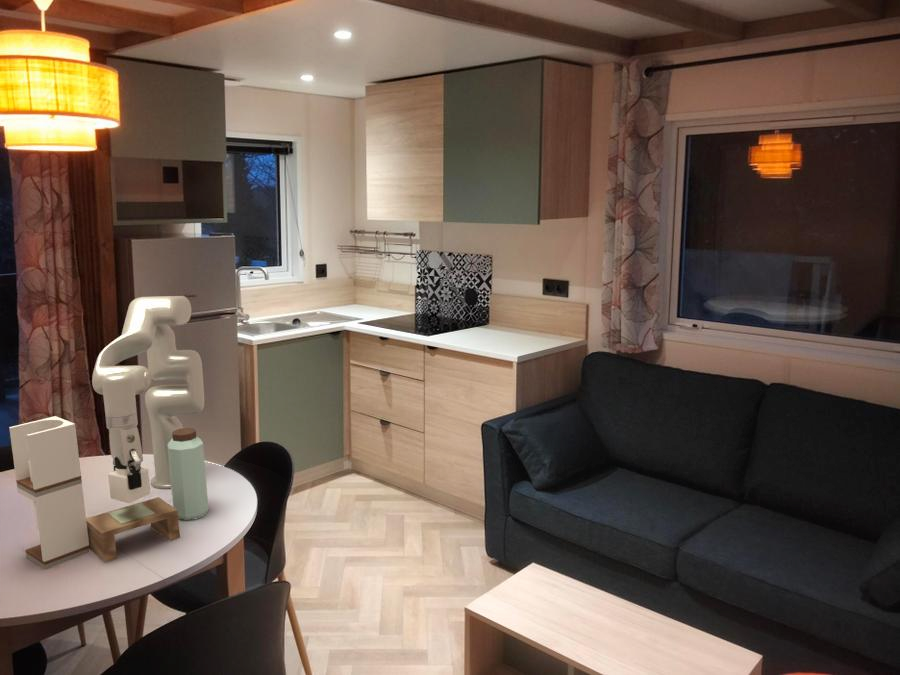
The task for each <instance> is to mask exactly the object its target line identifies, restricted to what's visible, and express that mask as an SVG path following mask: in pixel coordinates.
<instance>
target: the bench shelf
mask: <svg viewBox="0 0 900 675" xmlns="http://www.w3.org/2000/svg"><path fill="white" fill-rule="evenodd" d="M179 521H180V519H178V510H177V509H176V508H174V507H173V505H171V504H170V503H169V502H166V500H163V499H162V498H161V497H159V496H158V497H153V498H151V499H148V500H143V501H140V502H137V503H134V504H129V505H126V506H124V507H119V508H116V509H114V510H110V511H107V512H103V513H100V514H96V515H93V516H90V517H86V523H87V531H88V540H89V549H90V552H93V553H94V555H95V556H97V557H98V558H99V559H100V560H101V561H102V562H104V563H107V562H110V561H113V560H117V558H118V557H117V548H116V547H117V546H116V540H115V539H116V538H115V535H119V534H123V533H125V532H127V531H131V530H135V529H138V528H140V527H144V526H147V525H150V528H151V529H152V530H154V531H155V532H156V533H158V534H160V535H161V536H162V538H165V539H166V540H167V541H169V542H171V541H173V540H177V539H179V538H181V533H180V532H181V531H180V522H179Z"/></svg>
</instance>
